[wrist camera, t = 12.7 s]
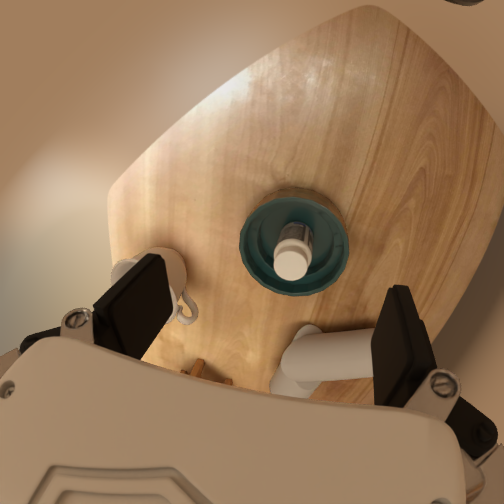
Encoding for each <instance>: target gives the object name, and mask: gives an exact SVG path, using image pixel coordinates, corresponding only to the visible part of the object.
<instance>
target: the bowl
mask: <svg viewBox="0 0 504 504" xmlns="http://www.w3.org/2000/svg"><path fill="white" fill-rule="evenodd" d="M290 222H302V223H304V224H306V225H307V226H308V227H309V228H310V229H311V231H312V233H313V249H312V260H311V263H310V265H309V266H308V268H307V272H306V273H305V275H304V276H303V277H302V278H300V279H298V280H294V281H289V280H285V279H283V278H281V277H280V276H278V274H277V273H276V272H275V269H274V250H275V247H276V245H277V242H278V239H279V236H280V233H281V231H282V229H283V227H284V226H285V225H287V224H288V223H290ZM239 250H240V253H241V257H242V261H243V264H244V265H245V267H246V268H247V270H248V272H249V273H250V275H251V276H252V277H253V278H254V279H255V280H256V281H258V282H259V283H260V284H261V285H262V286H263V287H265V288H267V289H269V290H271V291H273V292H275V293H278V294H283V295H288V296H308V295H312V294H315V293H318V292H321V291H323V290H325V289H326V288H327V287H329V286H330V285H332V284H333V283H334V282H336V281H337V279H338V278H339V276H340V275H341V274H342V272H343V271H344V269H345V267H346V263H347V260H348V257H349V243H348V235H347V229H346V224H345V222H344V220H343V217H342V215H341V213H340V211H339V210H338V208H337V207H336V206H335V205H334V204H333V203H332V202H331V201H330V200H329V199H328V198H326V197H324V196H323V195H321V194H319V193H317V192H315V191H313V190H308V189H302V188H296V187H295V188H288V189H280V190H278V191H276V192H274V193H272V194H270V195H268V196H266V197H264V198H263V199H262V200H261V201H260V202H259V203H258V204H257V205H256V206H255V208H254V209H253V210H252V212H251V213H250V215H249V216H248V218H247V219H246V221H245V223H244V226H243V228H242V230H241V232H240V242H239Z"/></svg>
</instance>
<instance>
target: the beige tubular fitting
mask: <svg viewBox="0 0 504 504" xmlns="http://www.w3.org/2000/svg"><path fill="white" fill-rule="evenodd" d="M374 329H375V328H369V329H361V330H352V331H342V332H332V333H323V332H322V331H321V330H320V329H319V328H318V327H316V326H314V325H306V326H304V327H302V328H301V329H300V330H299V331H298V332H297V334H296V335H295V337H294V339H293V341H292V343H291V344H290V345H289V346H288V347H287V348H286V350H285V351H284V353H283V355H282V358H281V363H280V364H279V366H278V368H277V370H276V371H275V373H274V375H273V377H272V378H271V380H270V384H269V388H270V392H271V393H272V394H278V395H284V396H291V397H298V398H305V399H308V398H309V397H310V395H311V394H312V393H313V392H314V391H315V389H316V388H317V387H318V386H319V385H320V383H321V382H322V381H332V380H346V379H357V378H367V377H373V368H372V355H371V338H372V335H373V332H374Z"/></svg>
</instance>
